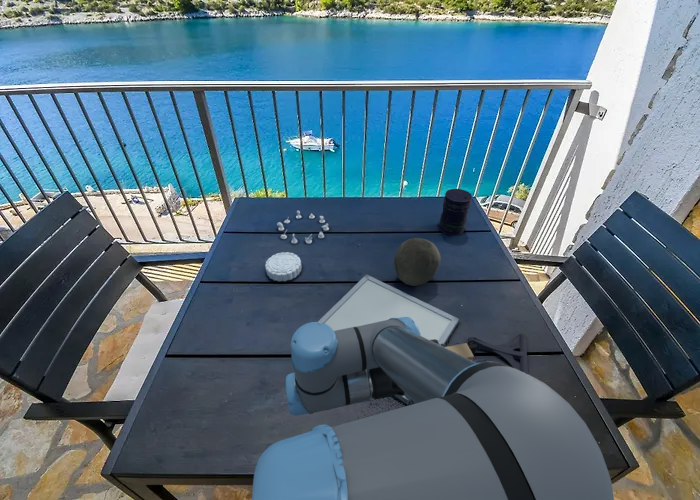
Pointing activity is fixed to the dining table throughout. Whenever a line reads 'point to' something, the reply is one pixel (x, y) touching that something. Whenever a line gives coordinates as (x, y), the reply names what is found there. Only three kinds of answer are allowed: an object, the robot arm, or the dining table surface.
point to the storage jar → (455, 211)
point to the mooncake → (283, 266)
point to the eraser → (462, 350)
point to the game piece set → (308, 240)
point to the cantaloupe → (416, 261)
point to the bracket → (507, 351)
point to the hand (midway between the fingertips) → (479, 357)
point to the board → (388, 311)
